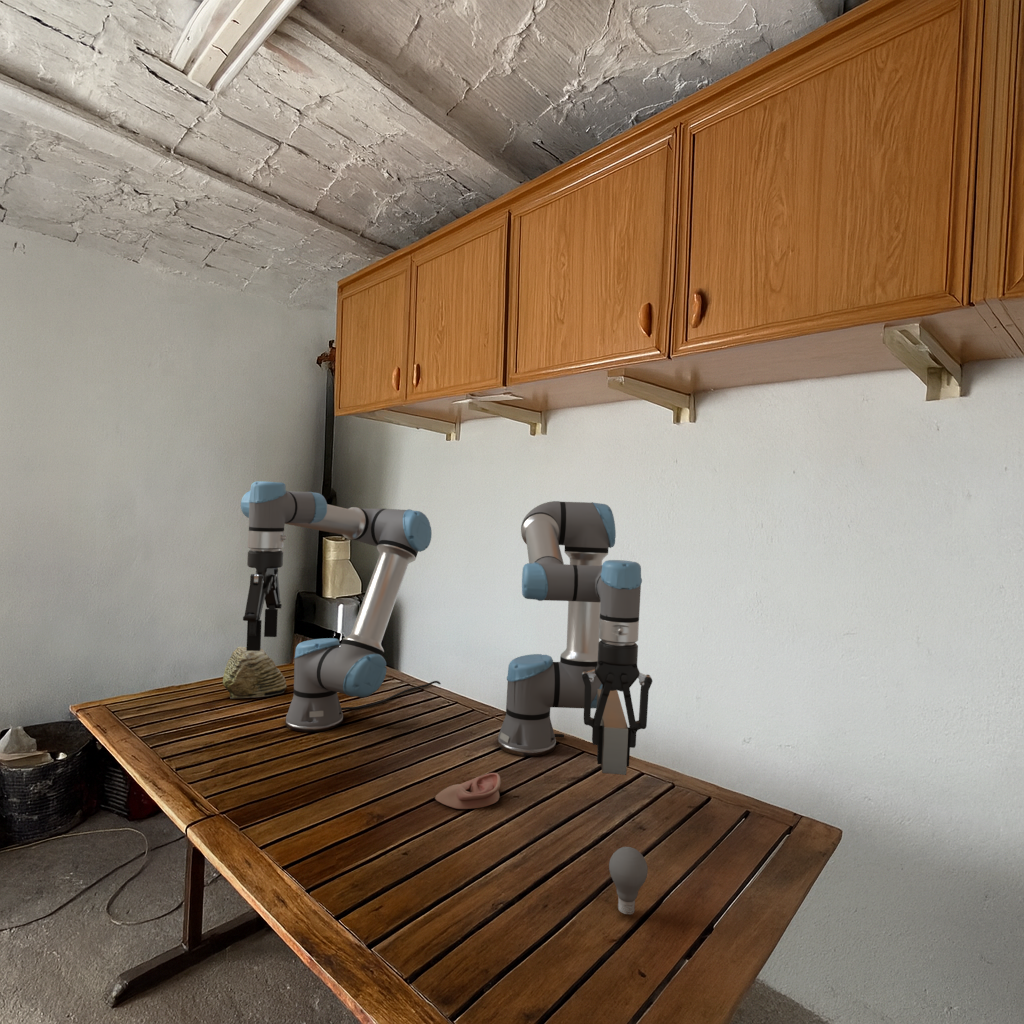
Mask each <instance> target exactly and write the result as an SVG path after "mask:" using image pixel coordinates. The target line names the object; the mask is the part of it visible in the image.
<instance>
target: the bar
mask: <svg viewBox="0 0 1024 1024" xmlns="http://www.w3.org/2000/svg"><path fill="white" fill-rule="evenodd" d="M600 694H601V689H597V704H598V701H599V697H600ZM600 725H601V726H602V728H603V741H602V764H600V767H601V773H602V774H609V775H620V776H621V775H622V776H627V767H628V766H627V746H628V727H629V726H628V723H627V720H626V716H625V712H624V709H623V705H622V701H621V699H620V695H619V691H618V690H614V691H610V693H609V696H608V699H607V702H606V706H605V709H604V713H603V716H602V720H601V723H600Z"/></svg>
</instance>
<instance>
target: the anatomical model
mask: <svg viewBox="0 0 1024 1024" xmlns="http://www.w3.org/2000/svg"><path fill="white" fill-rule="evenodd" d="M501 779H502V778H501V776H500V774H498V772H490V773H486V774H482V775H480V776H477V777H474V778H472V779H470V780H467V781H465V782H463V783H457V784H453V785H452V784H451V785H450V786H447V787H445V788H444V789H442V790H440V791H439V792H438V793H437V794H436V795H435V797H434V800H436V802H438V803H440V804H442V805H444V806H446V807H450V808H451V809H456V810H468V809H469V810H471V809H478V808H484V807H488V806H492V805H493V804H495V803H497V802H498V801H499V800H500V796H501V795H500V791H499V789H500V788H501V783H502V780H501Z"/></svg>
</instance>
